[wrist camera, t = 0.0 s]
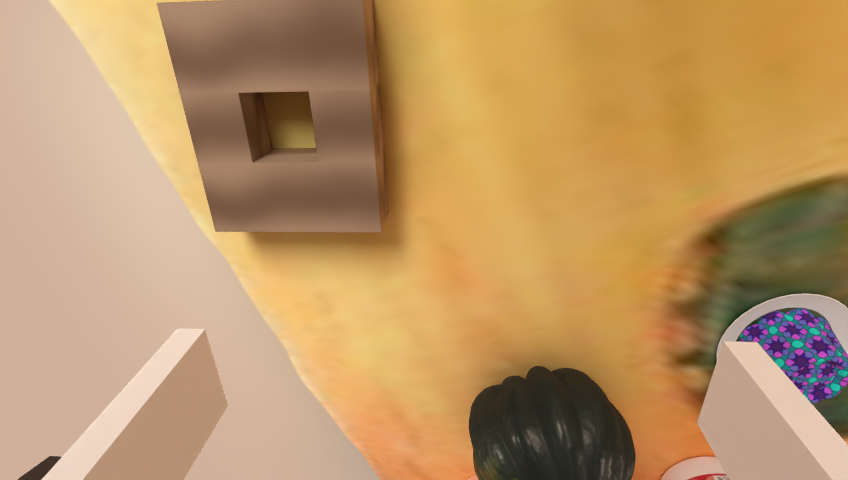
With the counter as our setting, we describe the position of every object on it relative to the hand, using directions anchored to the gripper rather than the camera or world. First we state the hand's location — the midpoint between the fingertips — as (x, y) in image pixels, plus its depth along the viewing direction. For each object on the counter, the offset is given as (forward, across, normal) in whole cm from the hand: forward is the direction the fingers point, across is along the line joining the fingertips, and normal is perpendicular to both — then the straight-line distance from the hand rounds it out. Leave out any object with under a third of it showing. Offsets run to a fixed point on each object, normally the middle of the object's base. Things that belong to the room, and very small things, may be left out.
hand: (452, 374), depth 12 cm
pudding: (+28, +31, -21) cm, 47 cm away
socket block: (+28, -13, +1) cm, 31 cm away
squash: (+28, +9, -29) cm, 41 cm away
